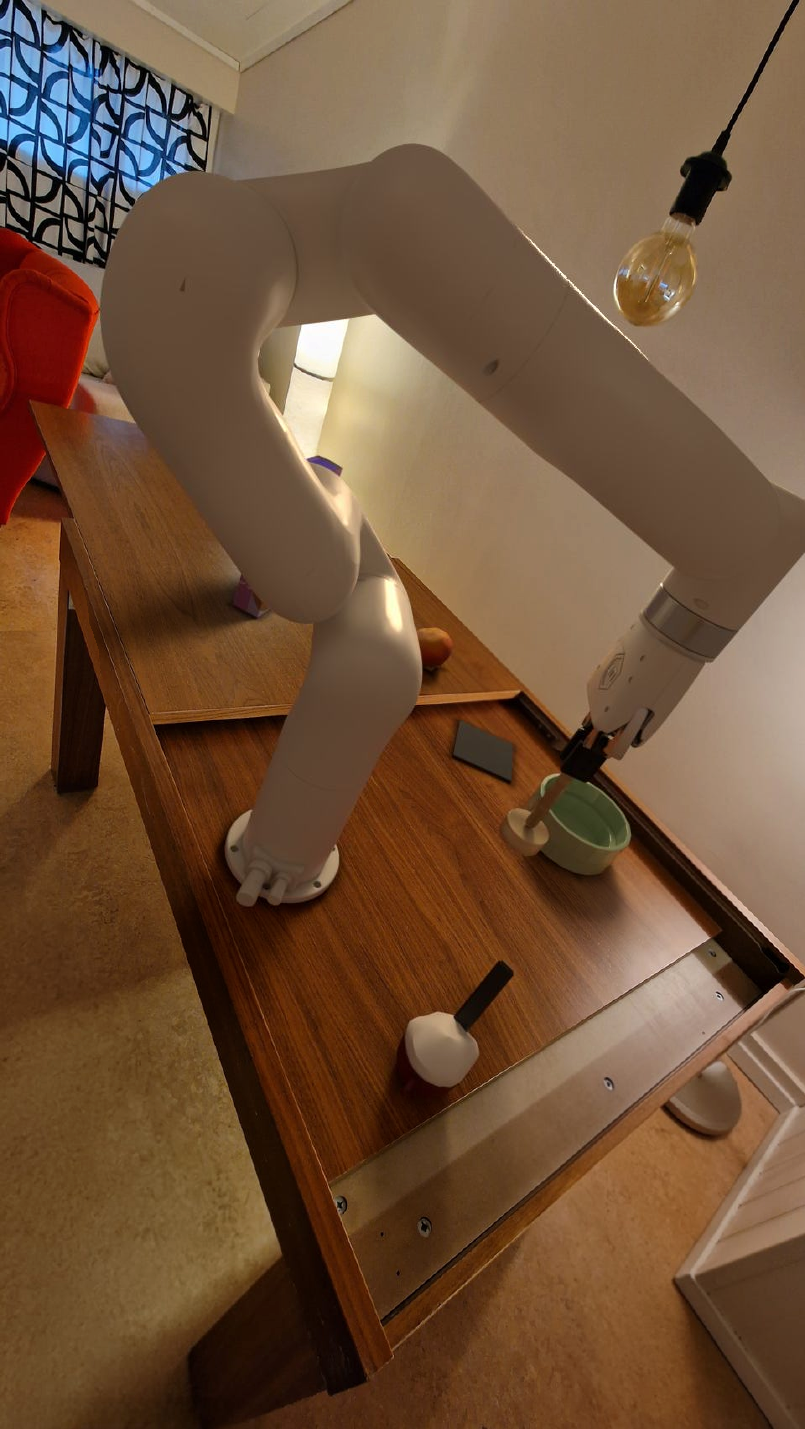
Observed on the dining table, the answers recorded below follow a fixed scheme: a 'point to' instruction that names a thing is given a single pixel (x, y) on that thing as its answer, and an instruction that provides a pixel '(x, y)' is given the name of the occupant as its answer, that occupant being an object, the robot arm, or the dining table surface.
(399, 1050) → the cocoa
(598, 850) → the bowl
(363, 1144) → the dining table surface
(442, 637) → the fruit
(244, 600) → the cereal box
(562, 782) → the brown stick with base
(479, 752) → the mat
